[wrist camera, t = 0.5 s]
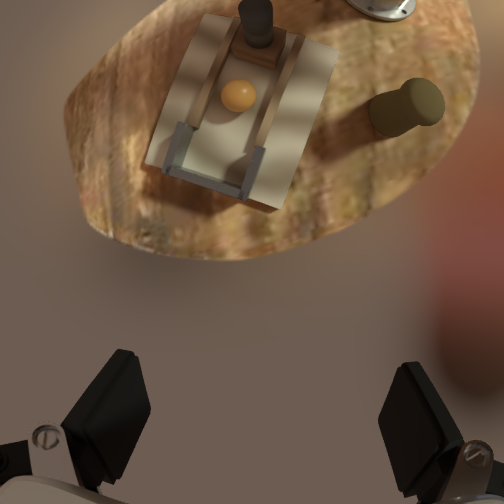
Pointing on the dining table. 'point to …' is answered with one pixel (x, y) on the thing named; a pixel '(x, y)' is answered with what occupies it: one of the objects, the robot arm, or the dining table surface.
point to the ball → (238, 95)
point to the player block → (258, 34)
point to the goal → (175, 169)
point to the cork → (407, 107)
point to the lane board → (252, 120)
